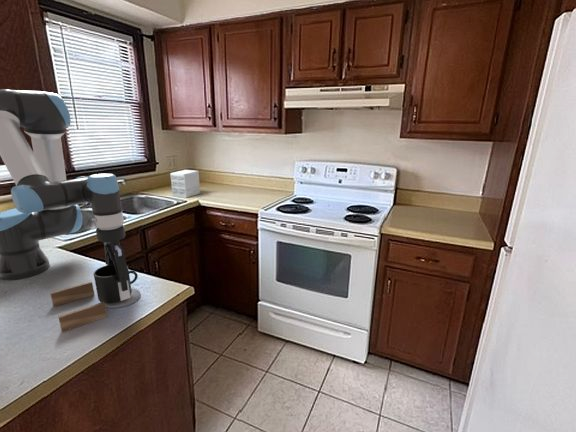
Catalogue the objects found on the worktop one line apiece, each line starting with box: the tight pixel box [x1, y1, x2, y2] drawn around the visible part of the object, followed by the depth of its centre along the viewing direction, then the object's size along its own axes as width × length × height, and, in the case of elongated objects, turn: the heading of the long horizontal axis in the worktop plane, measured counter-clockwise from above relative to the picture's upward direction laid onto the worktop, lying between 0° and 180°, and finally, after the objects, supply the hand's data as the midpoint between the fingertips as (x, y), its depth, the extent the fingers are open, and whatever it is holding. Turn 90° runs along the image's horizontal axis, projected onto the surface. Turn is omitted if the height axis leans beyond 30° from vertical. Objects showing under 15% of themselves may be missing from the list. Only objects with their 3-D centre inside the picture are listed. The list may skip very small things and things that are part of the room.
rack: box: [50, 281, 108, 333], centre depth 94 cm, size 17×11×4 cm, turn 42°
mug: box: [93, 264, 138, 303], centre depth 99 cm, size 9×12×9 cm
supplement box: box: [169, 169, 201, 199], centre depth 239 cm, size 17×13×18 cm
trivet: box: [105, 287, 141, 309], centre depth 101 cm, size 11×11×1 cm
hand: (120, 292), depth 101 cm, fingers closed on mug, 9 cm apart
